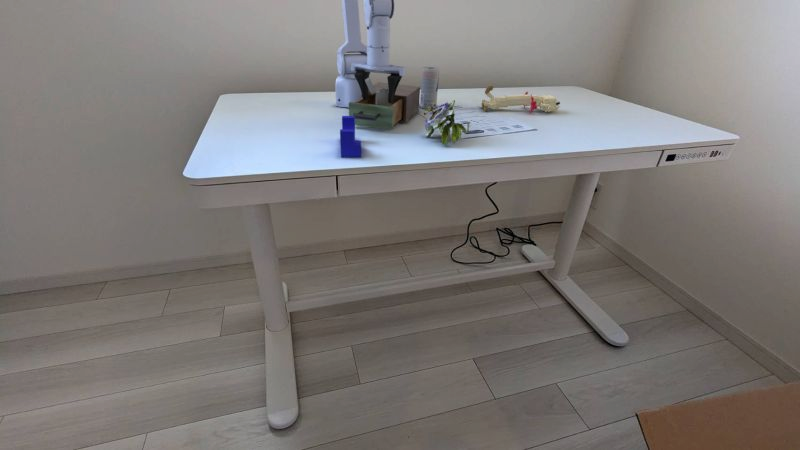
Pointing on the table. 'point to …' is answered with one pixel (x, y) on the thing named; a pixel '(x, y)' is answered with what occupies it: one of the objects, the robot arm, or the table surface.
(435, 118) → the passion flower
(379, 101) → the lighter
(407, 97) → the cabinet
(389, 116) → the drawer
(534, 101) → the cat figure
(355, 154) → the blue stepped block
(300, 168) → the table surface
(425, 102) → the energy drink
